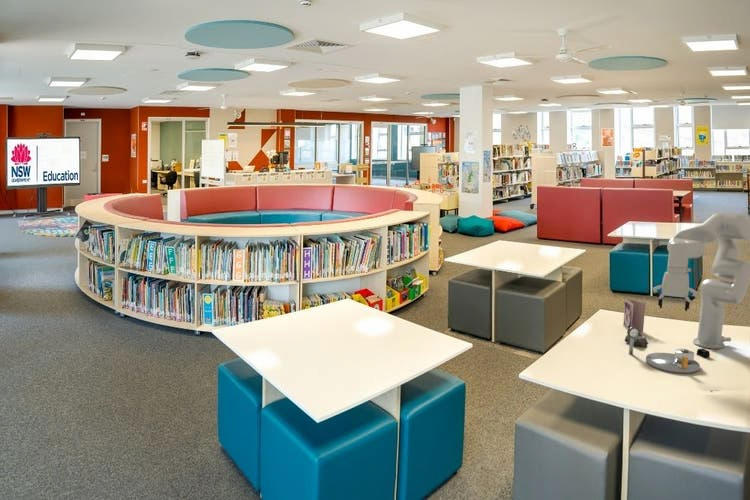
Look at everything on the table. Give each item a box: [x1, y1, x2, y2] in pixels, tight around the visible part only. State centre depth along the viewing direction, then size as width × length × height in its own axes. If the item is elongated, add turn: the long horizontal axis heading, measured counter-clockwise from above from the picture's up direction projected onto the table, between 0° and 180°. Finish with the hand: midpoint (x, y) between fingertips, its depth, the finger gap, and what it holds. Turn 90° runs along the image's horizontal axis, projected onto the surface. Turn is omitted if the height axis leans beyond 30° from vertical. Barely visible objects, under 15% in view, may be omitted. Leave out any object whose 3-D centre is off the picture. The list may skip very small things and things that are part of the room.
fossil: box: [624, 331, 649, 348], centre depth 256 cm, size 11×9×10 cm
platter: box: [645, 352, 701, 375], centre depth 230 cm, size 20×20×6 cm
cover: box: [674, 348, 695, 364], centre depth 230 cm, size 7×7×5 cm
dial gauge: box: [626, 327, 647, 355], centre depth 242 cm, size 9×6×14 cm, turn 93°
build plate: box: [696, 348, 711, 359], centre depth 241 cm, size 12×7×5 cm, turn 11°
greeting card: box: [622, 297, 646, 333], centre depth 279 cm, size 11×7×15 cm, turn 174°
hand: (673, 308), depth 236 cm, fingers open, 9 cm apart
